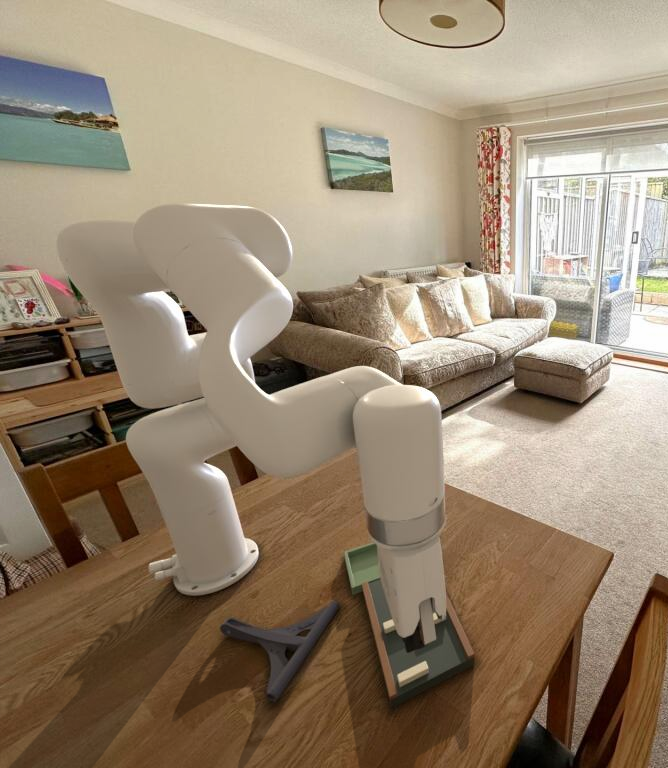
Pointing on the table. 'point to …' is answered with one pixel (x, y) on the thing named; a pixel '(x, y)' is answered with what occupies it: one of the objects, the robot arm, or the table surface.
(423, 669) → the chalk
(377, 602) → the chalkboard
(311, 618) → the bracket
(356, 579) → the tray
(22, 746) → the table surface
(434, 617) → the chalk
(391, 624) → the chalk
